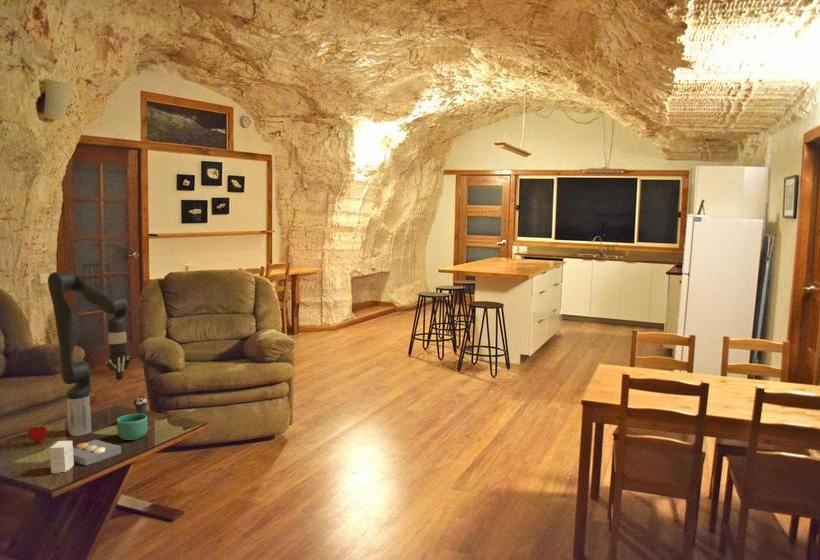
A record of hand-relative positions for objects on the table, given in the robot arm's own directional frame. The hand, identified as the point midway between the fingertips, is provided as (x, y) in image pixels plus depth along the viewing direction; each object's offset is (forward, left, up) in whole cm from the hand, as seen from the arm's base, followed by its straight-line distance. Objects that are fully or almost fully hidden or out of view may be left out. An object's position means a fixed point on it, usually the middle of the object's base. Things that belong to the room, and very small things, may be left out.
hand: (119, 379), depth 293 cm
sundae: (-12, +19, -27) cm, 35 cm away
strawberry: (-27, -23, -27) cm, 45 cm away
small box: (+12, -35, -27) cm, 46 cm away
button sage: (+8, -20, -27) cm, 34 cm away
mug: (+3, +4, -27) cm, 28 cm away
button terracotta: (+2, -21, -27) cm, 34 cm away
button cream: (+13, -20, -27) cm, 36 cm away
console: (+8, -21, -27) cm, 35 cm away
